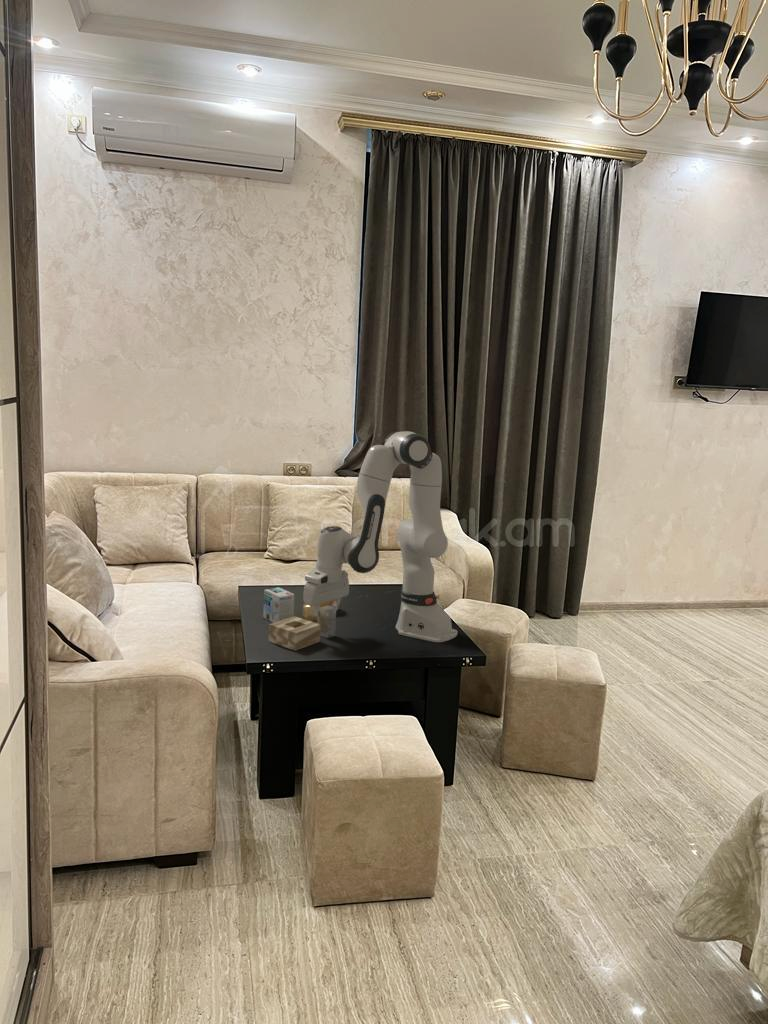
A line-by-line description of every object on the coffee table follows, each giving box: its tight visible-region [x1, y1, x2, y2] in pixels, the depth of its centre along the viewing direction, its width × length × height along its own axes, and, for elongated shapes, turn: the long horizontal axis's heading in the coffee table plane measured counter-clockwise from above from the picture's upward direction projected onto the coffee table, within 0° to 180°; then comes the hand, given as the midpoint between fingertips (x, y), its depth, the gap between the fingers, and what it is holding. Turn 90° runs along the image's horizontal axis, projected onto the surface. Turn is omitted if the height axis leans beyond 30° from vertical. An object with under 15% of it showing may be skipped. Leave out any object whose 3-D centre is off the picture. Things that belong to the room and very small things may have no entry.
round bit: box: [302, 603, 320, 624], centre depth 269 cm, size 6×6×8 cm
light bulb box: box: [263, 587, 296, 624], centre depth 273 cm, size 11×7×11 cm, turn 40°
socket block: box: [268, 615, 321, 651], centre depth 253 cm, size 12×12×6 cm
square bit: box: [319, 605, 337, 639], centre depth 260 cm, size 4×4×10 cm
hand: (325, 613), depth 260 cm, fingers open, 8 cm apart
